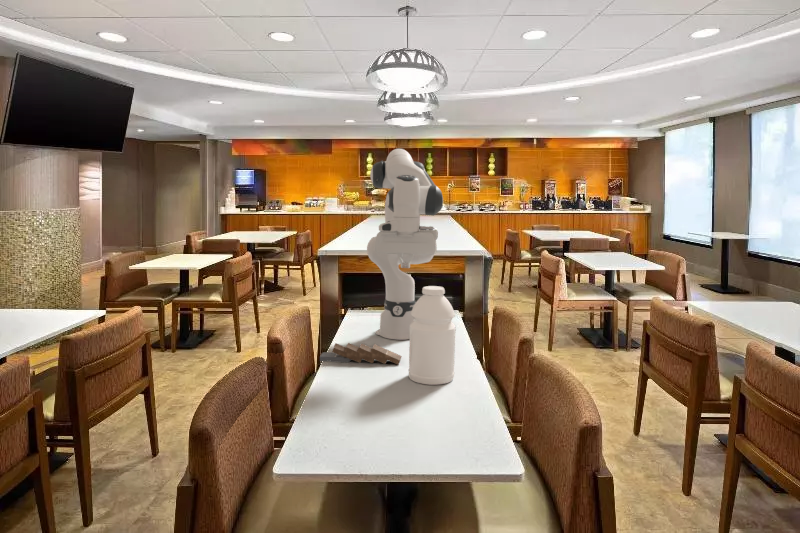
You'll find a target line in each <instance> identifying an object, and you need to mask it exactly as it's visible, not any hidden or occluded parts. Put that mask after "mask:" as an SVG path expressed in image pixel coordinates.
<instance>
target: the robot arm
mask: <svg viewBox="0 0 800 533" xmlns="http://www.w3.org/2000/svg"><path fill="white" fill-rule="evenodd" d="M369 175H370V176H369V177H370V181H371V183H372V186H374V188H376V189H390V190H388V192H387V194H386V197H385V204H384V218H385V219H384V222H383V223H380V224H379V225H378V231H379V232H377V234H376V235H375V236H373V237H371V239H370V240H369V241H368V243H367V246H366V253H367V257H368V258H369V260H370V261H371V262H372V263H374V264H375V265H376V266H377V267H378V268H379V270H380V271H381V272H382V276H383V277H384V283H385V299H384V304H383V305H384V310H383V311H382V312H381V313H380V318H379V319H380V320H379V322H380V323H379V329H378V330H376V331H375V335H377V336H381V338H382V337H383V338H385V339H390V340H398V341H399V340H401V341H402V340H410V324H411V323H412V322H413V321H414V318H413V317H412V316H411V311H412V309H413V306H414V305H415V303H416V302H417V301H416V299H415V292H416V291H415V290H416V289H415V288H416V287H415V284H416V283H415V279H414V278H413V277H412V276H411V275H410V274H408V273H406V272H404V271H403V270H401V269H410V268H411V265H419V264H420V265H421V264H427V263H429V262H431V261H432V260H433V258H434V256H435V255H436V254H437V252H438V251H437V249H438V247H437V239H438V236H439V232H438V229H437V228H435V227H434V226H431V225H430V226H425V225H424V226H423V225H421V215H426V216H434V217H435V216H436V215H437V214H438V213H439V212H440V211H441V210H442V209H443V205H444V197H443V192H442V190H441V188H439V187H438V186H437V185H436V184H435V182H434V181H433V180H432V178H431V177H430V175H429V174H428V172H427V171H426V169H425V166H424V164H423V163H422V162H419V161H414V159H413V158H412V155H411V154H410V153H409V152H408V151H407V150H405V149H404V148H395V149H393V150H391V151H390V152H389V154H388V155H387V157H386V160H385V161H384V160H380V161H377V162H375V163H374V164H373V165H372V168H371V170H370V174H369ZM399 266H400V267H399ZM400 268H401V269H400Z"/></svg>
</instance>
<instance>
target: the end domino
mask: <svg viewBox="0 0 800 533" xmlns="http://www.w3.org/2000/svg"><path fill="white" fill-rule="evenodd" d="M319 361H320V362H339V363H340V362H341V363H350V362H351V359H349V358H346V357H344V356H341V355H338V354H336V353H333V352H326V351H325V352H321V354H320V356H319Z"/></svg>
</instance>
